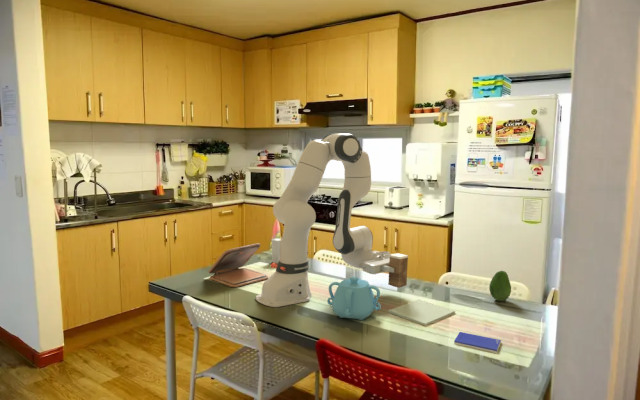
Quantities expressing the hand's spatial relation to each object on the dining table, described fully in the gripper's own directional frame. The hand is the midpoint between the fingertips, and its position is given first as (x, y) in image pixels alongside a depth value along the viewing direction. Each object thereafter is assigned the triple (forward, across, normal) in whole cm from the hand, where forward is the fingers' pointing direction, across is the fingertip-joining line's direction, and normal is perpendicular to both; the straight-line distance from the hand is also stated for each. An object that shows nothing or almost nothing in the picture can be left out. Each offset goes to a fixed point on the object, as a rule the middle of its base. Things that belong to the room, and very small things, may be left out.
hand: (400, 268), depth 175 cm
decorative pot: (-1, -24, +13) cm, 28 cm away
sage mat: (+14, -4, +12) cm, 19 cm away
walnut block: (-1, 0, +7) cm, 7 cm away
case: (-65, -33, +14) cm, 74 cm away
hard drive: (+41, -12, +13) cm, 44 cm away
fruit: (+26, +30, +12) cm, 41 cm away
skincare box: (-76, -4, +13) cm, 77 cm away
